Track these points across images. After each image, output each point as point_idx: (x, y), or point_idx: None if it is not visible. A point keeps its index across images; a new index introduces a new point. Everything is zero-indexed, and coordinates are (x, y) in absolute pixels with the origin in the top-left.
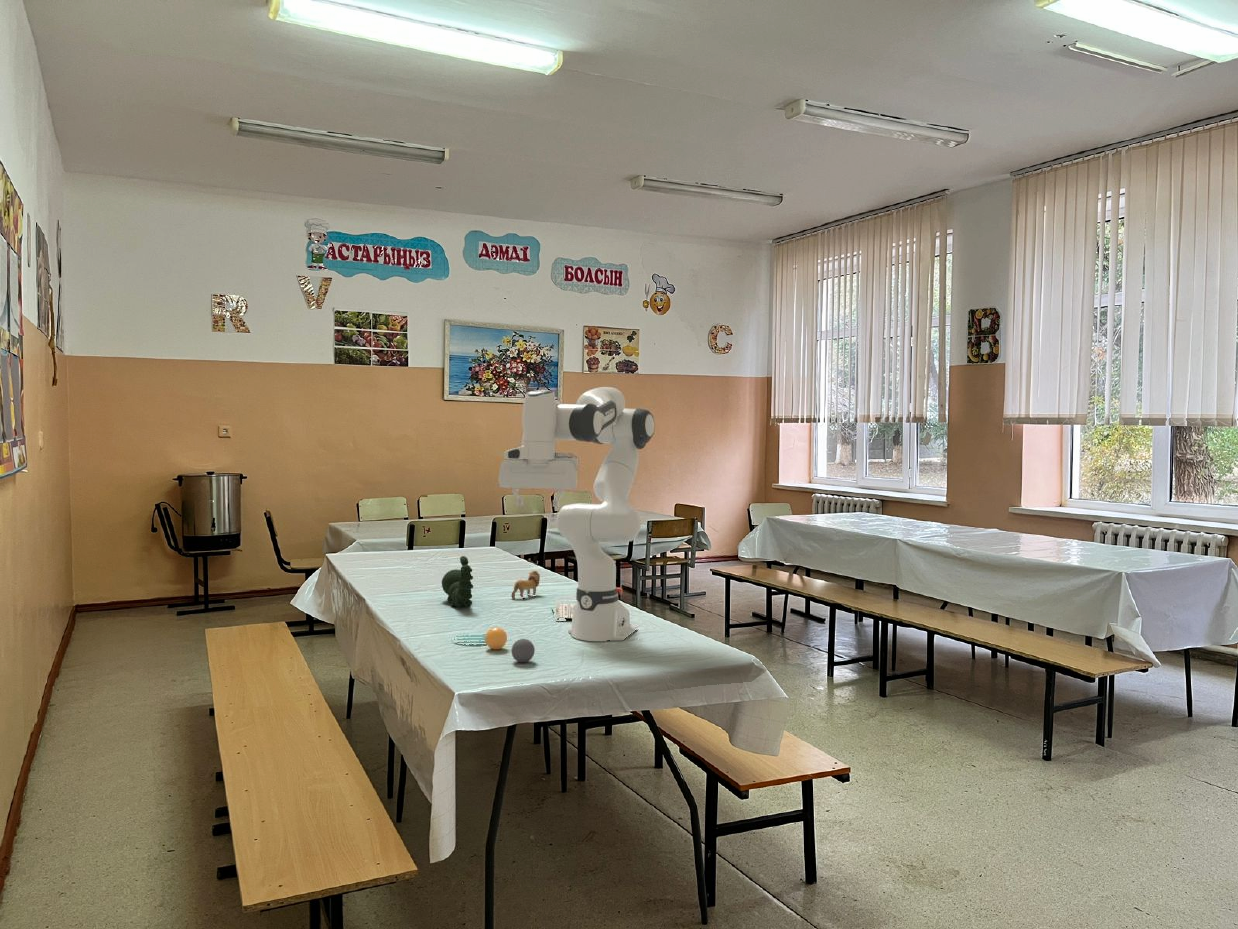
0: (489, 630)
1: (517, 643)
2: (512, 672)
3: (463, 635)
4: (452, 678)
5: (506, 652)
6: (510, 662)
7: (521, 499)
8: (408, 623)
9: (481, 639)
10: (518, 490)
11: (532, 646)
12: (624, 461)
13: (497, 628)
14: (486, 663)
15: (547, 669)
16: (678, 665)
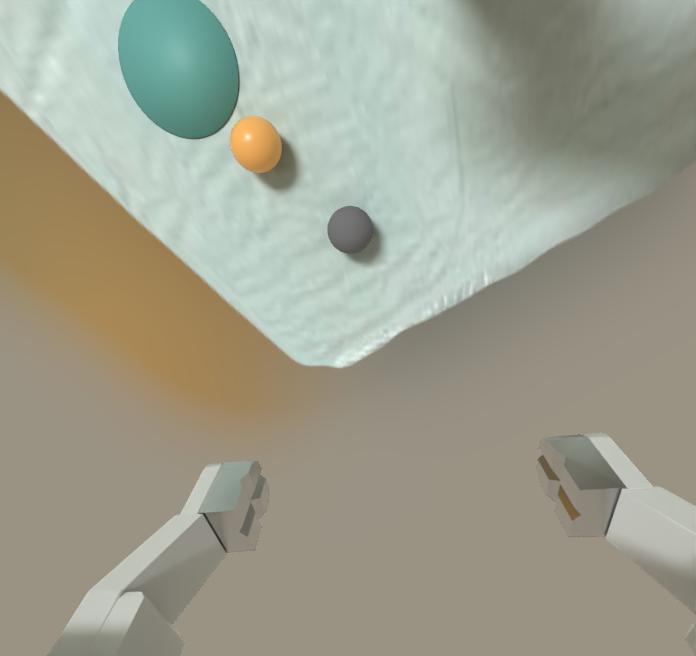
0: (238, 156)
1: (341, 247)
2: (354, 287)
3: (129, 40)
4: (282, 335)
5: (294, 164)
6: None
7: (252, 547)
8: None
9: (192, 69)
10: (151, 631)
11: (370, 235)
12: None
13: (254, 150)
14: (292, 250)
15: (406, 256)
16: (673, 153)
